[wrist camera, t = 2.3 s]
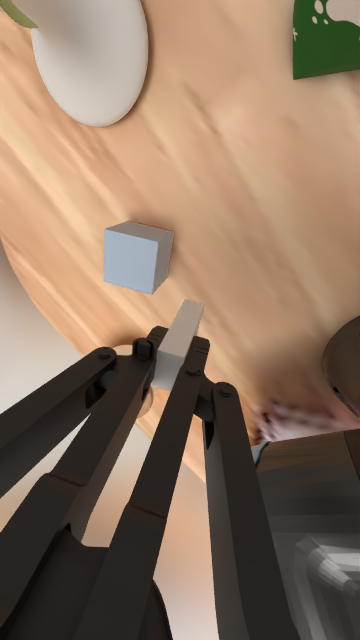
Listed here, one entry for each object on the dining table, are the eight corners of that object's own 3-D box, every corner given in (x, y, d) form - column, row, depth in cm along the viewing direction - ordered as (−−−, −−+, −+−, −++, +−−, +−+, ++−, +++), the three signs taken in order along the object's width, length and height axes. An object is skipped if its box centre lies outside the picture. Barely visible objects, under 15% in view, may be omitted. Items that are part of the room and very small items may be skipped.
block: (174, 231, 30) (158, 242, 25) (167, 277, 34) (151, 294, 28) (128, 221, 31) (104, 229, 26) (126, 266, 34) (103, 281, 29)
